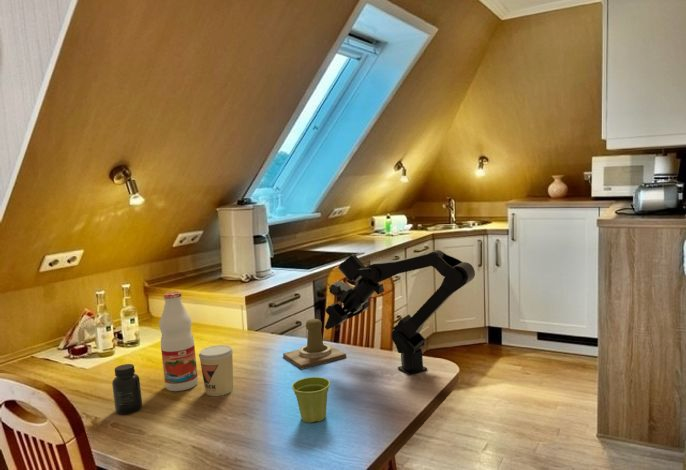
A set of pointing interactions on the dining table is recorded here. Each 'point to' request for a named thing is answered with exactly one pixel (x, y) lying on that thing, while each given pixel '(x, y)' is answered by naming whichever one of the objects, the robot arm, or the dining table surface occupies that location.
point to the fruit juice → (177, 345)
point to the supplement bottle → (126, 390)
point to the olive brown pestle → (314, 336)
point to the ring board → (313, 356)
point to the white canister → (217, 369)
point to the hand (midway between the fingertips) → (333, 324)
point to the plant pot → (312, 397)
